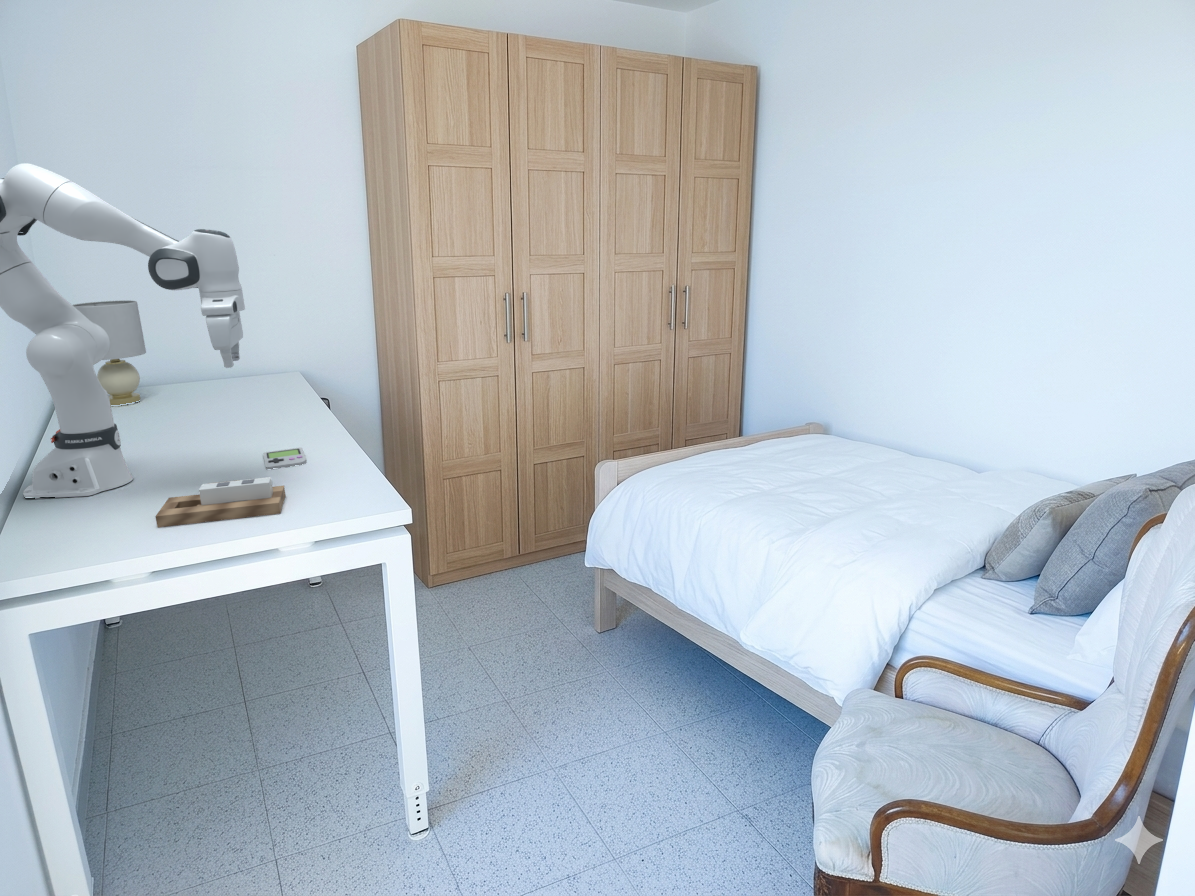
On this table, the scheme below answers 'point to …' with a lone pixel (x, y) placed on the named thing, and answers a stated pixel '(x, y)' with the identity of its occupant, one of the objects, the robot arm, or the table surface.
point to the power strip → (236, 491)
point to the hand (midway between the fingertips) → (232, 363)
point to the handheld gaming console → (284, 458)
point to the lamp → (118, 346)
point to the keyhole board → (216, 509)
